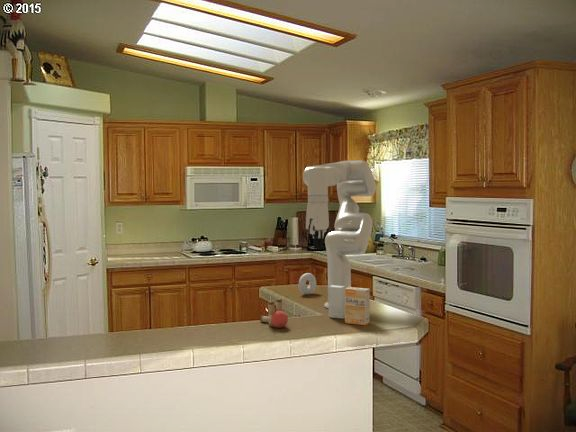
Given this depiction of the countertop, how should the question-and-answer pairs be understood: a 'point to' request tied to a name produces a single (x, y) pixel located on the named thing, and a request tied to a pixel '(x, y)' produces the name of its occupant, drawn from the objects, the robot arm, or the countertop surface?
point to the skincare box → (336, 301)
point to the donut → (303, 283)
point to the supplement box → (357, 306)
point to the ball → (279, 319)
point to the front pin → (264, 319)
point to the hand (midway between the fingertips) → (318, 248)
